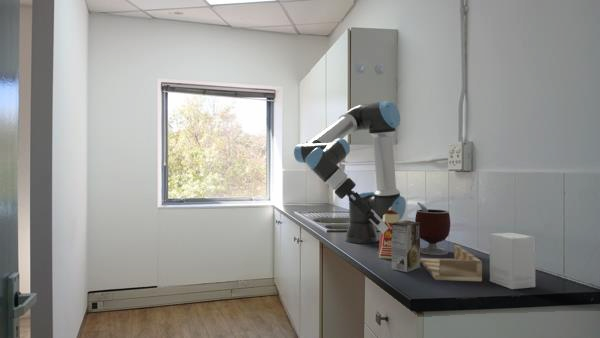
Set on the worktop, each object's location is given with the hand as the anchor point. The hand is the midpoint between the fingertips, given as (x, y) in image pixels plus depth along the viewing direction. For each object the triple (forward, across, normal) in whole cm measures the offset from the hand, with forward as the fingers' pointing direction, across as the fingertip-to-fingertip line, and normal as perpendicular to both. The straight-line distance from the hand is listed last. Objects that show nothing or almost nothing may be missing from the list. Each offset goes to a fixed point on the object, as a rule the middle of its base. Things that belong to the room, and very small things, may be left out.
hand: (383, 227), depth 134 cm
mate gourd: (+26, -30, +6) cm, 40 cm away
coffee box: (+16, -1, -5) cm, 16 cm away
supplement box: (+36, +14, +16) cm, 42 cm away
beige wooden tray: (+25, 0, +6) cm, 26 cm away
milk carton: (+13, -19, -7) cm, 24 cm away
